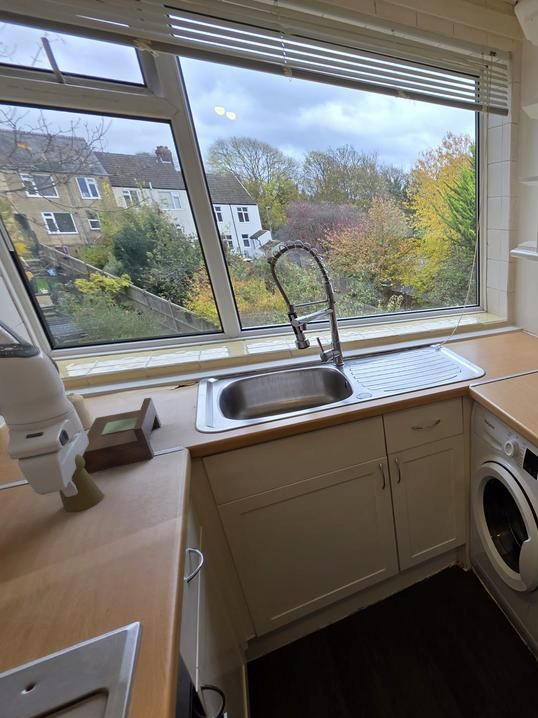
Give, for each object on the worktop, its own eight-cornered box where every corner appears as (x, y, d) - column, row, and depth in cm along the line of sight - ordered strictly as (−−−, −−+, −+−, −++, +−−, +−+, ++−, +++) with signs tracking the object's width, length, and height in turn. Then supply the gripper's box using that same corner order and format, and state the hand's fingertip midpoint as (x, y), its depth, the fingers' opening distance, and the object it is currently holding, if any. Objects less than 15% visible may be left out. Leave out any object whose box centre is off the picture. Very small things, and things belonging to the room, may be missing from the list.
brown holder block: (86, 473, 93) (71, 442, 90) (103, 435, 108) (91, 407, 105) (153, 458, 100) (141, 428, 96) (161, 424, 115) (151, 397, 111)
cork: (103, 489, 89) (83, 446, 84) (105, 502, 85) (84, 458, 80) (64, 501, 85) (41, 457, 80) (63, 516, 81) (39, 470, 76)
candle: (92, 420, 116) (77, 388, 112) (97, 426, 113) (82, 394, 109) (64, 428, 112) (49, 395, 108) (69, 434, 109) (53, 401, 105)
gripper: (41, 410, 84) (68, 465, 89) (2, 457, 68) (38, 521, 74) (83, 403, 87) (107, 457, 92) (55, 446, 72) (86, 508, 77)
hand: (76, 486), depth 83 cm, fingers closed on cork, 4 cm apart
